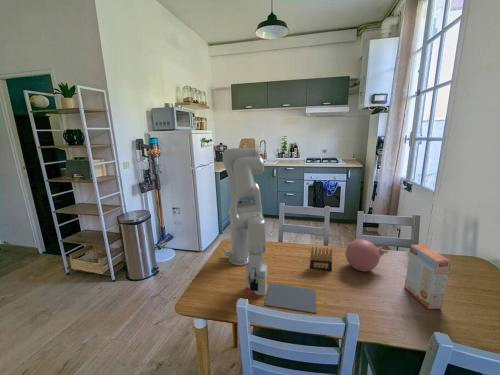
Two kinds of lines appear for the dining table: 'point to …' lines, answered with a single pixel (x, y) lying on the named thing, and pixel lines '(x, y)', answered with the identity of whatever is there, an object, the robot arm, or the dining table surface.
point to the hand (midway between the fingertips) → (256, 283)
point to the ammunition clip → (321, 260)
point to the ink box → (261, 282)
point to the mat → (291, 298)
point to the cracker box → (427, 276)
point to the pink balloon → (363, 255)
